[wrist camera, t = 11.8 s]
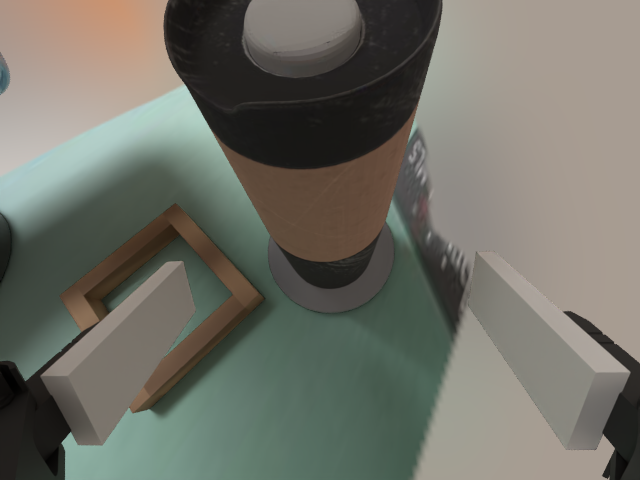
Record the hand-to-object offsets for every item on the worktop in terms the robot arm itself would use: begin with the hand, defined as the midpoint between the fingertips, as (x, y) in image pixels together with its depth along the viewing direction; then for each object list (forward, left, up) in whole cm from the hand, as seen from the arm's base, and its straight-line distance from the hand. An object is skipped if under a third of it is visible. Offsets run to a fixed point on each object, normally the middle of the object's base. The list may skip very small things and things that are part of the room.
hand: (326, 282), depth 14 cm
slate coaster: (-4, +4, -12) cm, 14 cm away
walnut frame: (-11, -9, -12) cm, 19 cm away
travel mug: (-4, +4, -12) cm, 13 cm away
